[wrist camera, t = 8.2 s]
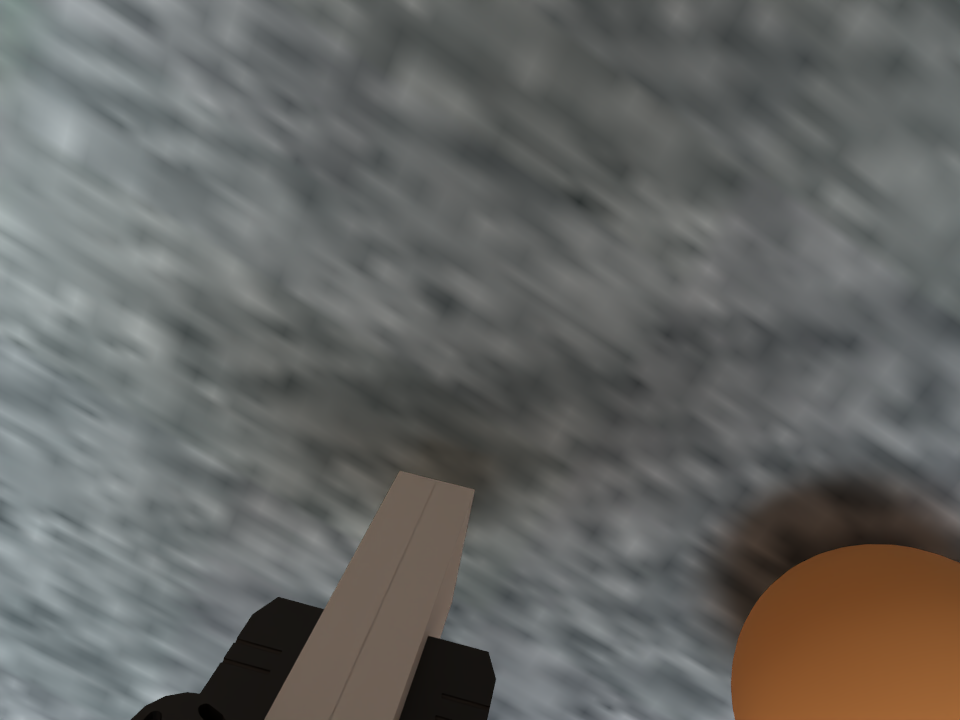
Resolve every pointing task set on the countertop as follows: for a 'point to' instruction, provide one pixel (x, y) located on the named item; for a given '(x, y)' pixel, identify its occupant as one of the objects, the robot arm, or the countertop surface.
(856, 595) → the ball
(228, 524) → the countertop surface
